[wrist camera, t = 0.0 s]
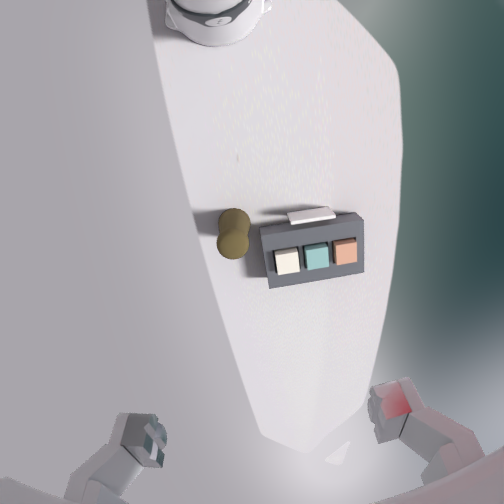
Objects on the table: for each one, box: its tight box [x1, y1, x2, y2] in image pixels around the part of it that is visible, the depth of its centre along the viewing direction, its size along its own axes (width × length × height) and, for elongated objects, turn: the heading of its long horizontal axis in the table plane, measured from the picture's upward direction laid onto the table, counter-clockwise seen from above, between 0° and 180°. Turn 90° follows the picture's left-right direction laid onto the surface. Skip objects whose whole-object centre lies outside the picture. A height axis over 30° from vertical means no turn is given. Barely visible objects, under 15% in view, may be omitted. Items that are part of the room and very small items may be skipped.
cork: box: [217, 208, 251, 259], centre depth 53 cm, size 6×6×11 cm
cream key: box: [274, 246, 300, 275], centre depth 56 cm, size 4×4×3 cm
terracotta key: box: [332, 237, 357, 265], centre depth 56 cm, size 4×4×3 cm
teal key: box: [303, 242, 329, 270], centre depth 56 cm, size 4×4×3 cm
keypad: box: [259, 207, 364, 289], centre depth 57 cm, size 13×19×5 cm
